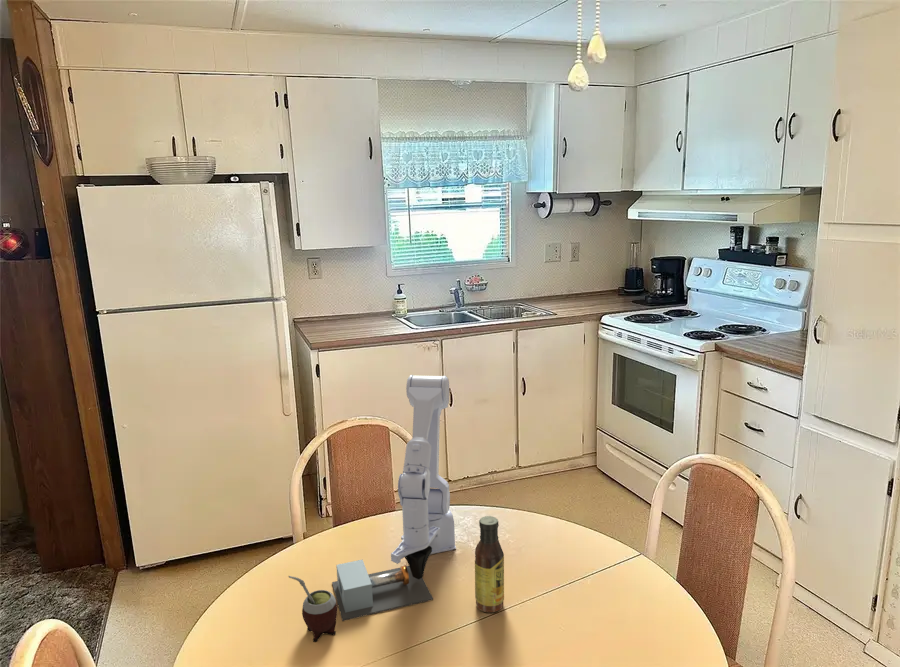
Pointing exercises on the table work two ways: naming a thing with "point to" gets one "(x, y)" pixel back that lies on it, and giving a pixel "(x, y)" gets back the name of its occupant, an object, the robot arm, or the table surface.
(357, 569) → the block
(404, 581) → the pin
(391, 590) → the mat
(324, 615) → the mate gourd
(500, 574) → the sauce bottle
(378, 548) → the table surface
